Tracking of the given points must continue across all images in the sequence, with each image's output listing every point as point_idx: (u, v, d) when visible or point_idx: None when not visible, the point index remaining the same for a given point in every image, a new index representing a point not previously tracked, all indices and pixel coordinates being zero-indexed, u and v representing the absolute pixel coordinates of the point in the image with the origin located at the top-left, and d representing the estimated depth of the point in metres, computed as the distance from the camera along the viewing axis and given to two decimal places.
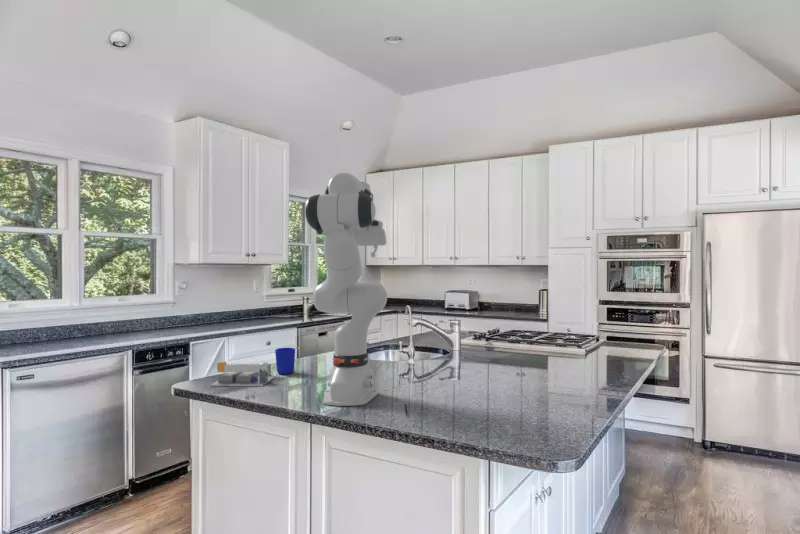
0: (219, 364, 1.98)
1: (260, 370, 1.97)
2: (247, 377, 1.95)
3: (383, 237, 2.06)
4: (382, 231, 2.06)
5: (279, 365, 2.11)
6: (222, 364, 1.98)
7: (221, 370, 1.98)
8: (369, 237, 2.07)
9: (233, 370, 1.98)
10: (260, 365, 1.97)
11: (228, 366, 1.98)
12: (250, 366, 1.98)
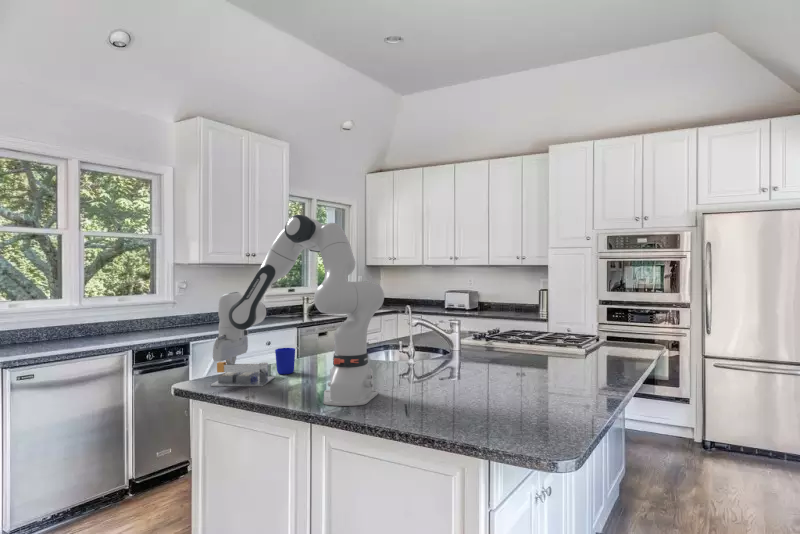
0: (219, 364, 1.98)
1: (260, 370, 1.97)
2: (247, 377, 1.95)
3: (247, 345, 2.10)
4: (247, 339, 2.10)
5: (279, 365, 2.11)
6: (222, 364, 1.98)
7: (221, 370, 1.98)
8: (239, 347, 2.05)
9: (233, 370, 1.98)
10: (260, 365, 1.97)
11: (228, 366, 1.98)
12: (250, 366, 1.98)
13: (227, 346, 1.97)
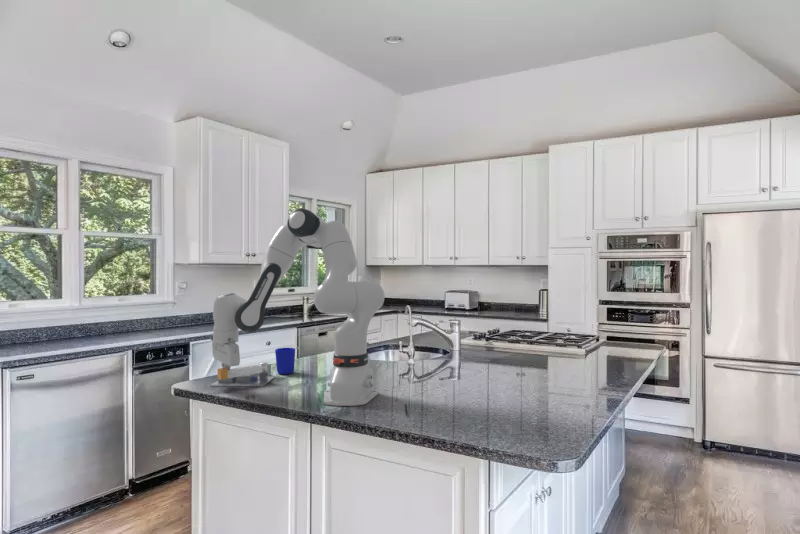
0: (223, 371, 1.86)
1: (263, 370, 1.97)
2: (247, 377, 1.95)
3: None
4: None
5: (279, 365, 2.11)
6: (226, 370, 1.87)
7: (225, 377, 1.86)
8: None
9: (237, 375, 1.90)
10: (263, 365, 1.97)
11: (232, 371, 1.89)
12: (253, 368, 1.94)
13: None
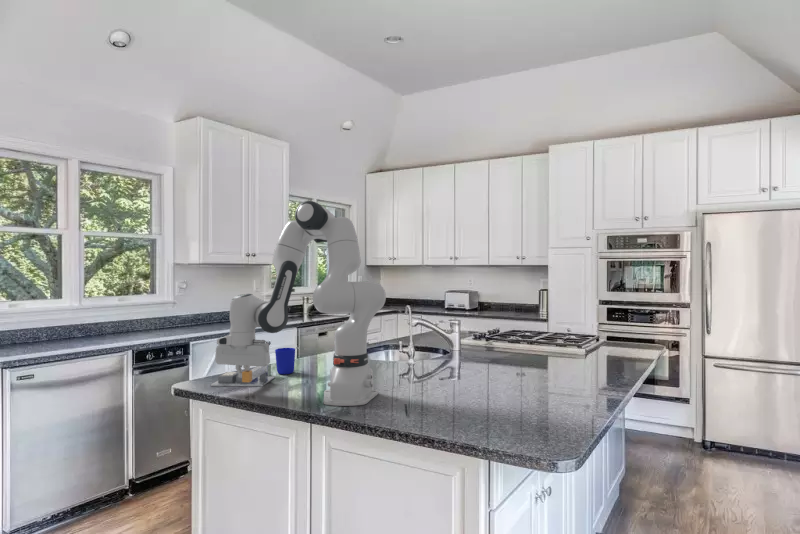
0: (250, 373, 1.82)
1: (266, 370, 1.98)
2: None
3: None
4: None
5: (279, 365, 2.11)
6: (251, 372, 1.83)
7: (251, 379, 1.82)
8: None
9: (255, 376, 1.87)
10: None
11: (253, 372, 1.85)
12: (261, 368, 1.94)
13: None
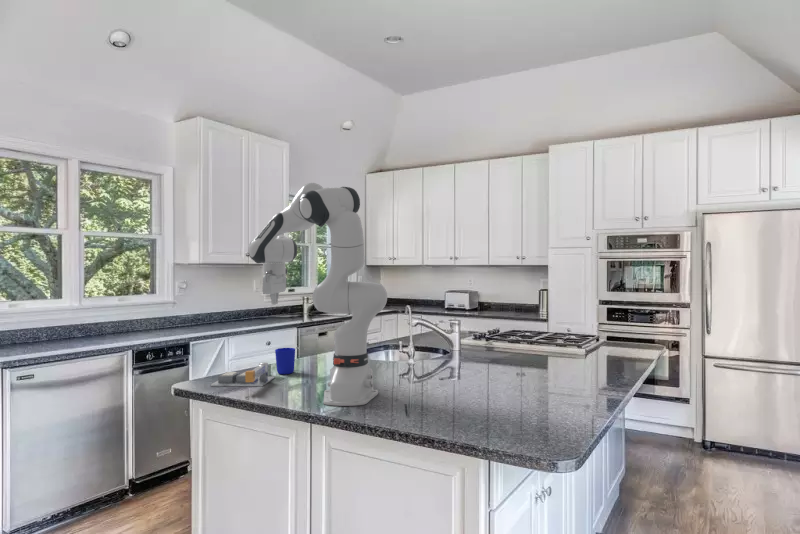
0: (253, 373, 1.82)
1: (266, 370, 1.98)
2: None
3: (285, 284, 2.19)
4: None
5: (279, 365, 2.11)
6: (254, 372, 1.83)
7: (254, 379, 1.82)
8: (281, 285, 2.14)
9: (257, 376, 1.87)
10: (266, 365, 1.98)
11: (256, 372, 1.85)
12: (262, 368, 1.94)
13: (274, 281, 2.05)
